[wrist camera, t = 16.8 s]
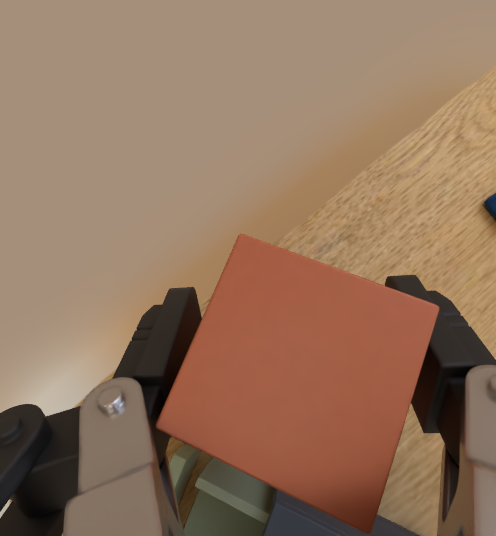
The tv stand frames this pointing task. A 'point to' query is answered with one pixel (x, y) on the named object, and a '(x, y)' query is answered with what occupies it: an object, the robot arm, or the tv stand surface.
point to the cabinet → (318, 521)
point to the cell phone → (491, 205)
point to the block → (302, 378)
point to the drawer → (221, 497)
